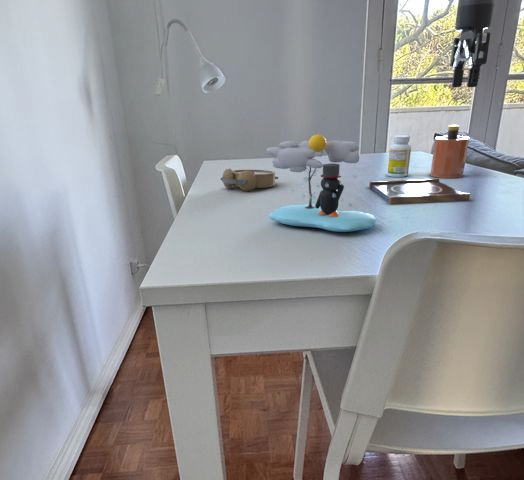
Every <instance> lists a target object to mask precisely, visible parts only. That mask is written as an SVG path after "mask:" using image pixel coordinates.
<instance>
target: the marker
mask: <svg viewBox="0 0 524 480" xmlns="http://www.w3.org/2000/svg"><path fill="white" fill-rule="evenodd" d="M459 130H460V125H458V124H451V125H448V129H447V135H446V136H447V139H457V137H458V136H459Z"/></svg>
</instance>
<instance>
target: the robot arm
mask: <svg viewBox="0 0 524 480" xmlns="http://www.w3.org/2000/svg"><path fill="white" fill-rule="evenodd" d="M494 7H495V0H458V3H457V10H456V16H455V17H456V18H455V25H454V30H455V31H457V32H461V33H460V37H454V39H453V42H452V49H451V55H450V61H449V62H450V63H449V67H450V68H452V70H453V74H452V80H451V87H452V88H461V87H462V86H463V79H464V73H465V72H464V71H465V70H464V69H465V67H466V65H467V62H468V66H469V69H468V74H467V81H466V87H467V88H476V87H477V86H478V82H479V76H480V71H481V68H482V67H483V65H486V64H487V61H488V53H489V48H490V47H489V46H490V41H491V32H490V31H489V32H484V30H487V29H490V27H491V25H492V19H493V13H494Z"/></svg>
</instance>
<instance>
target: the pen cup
mask: <svg viewBox="0 0 524 480" xmlns="http://www.w3.org/2000/svg"><path fill="white" fill-rule="evenodd" d="M447 136H448V135H443V136H436V137H435V139H434V145H433V151H432V160H431V167H430V176H431V177H433V178H437V179H457V178H462V177H464V173H465V172H464V171H465V166H466V160H467V156H468V155H467V154H468V149H469V142H470V137H469V136H463V135H462V136H460V135H458V137H457V139H447Z"/></svg>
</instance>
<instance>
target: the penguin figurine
mask: <svg viewBox="0 0 524 480" xmlns="http://www.w3.org/2000/svg"><path fill="white" fill-rule="evenodd" d="M359 150H360V147H359V144H358V143H357V142H356V141H351V140H342V139H334V140H333V139H332V140H328V141H327V139H326V137H325V136H324V135H322V134H319V133H318V134H314V135H312V136H311V137H310V136H309V140H305V141H301V142H300V143H298V142H297V141H294V140H286V141H282V142H279V146H271V147H267V148H266V152H267V154H268V155H269V156H272V157H273V159H272V160H271V162H272V166H273V167H274V168H275V169H280V170H281V169H282V170H286V169H287V170H288V169H289V171H290V172H292V173H303V172H304V174H305V175H307V174H308V177H307V176H304V177H303V179H304V182H300V184H301V187H303V188H305V187H306V185H305V183H308V194H309V195H308V204H293V205H284V206H281V207H278V208H276V209H275V210H273V211H272V212H271V213H270V214H269V215H268V217H269V218H270V220H272V221H274V222H277V223H279V224H283V225H287V226H294V227H302V228H303V227H304V228H305V227H306V228H316V229H321V230H325V231H329V232H330V231H331V232H335V233H336V232H337V233H350V232H356V231H363V230H366V229H369V228H372V227H374V226H375V224H376V223H377V218H376V217H375V215H373V214H372V213H368V212H365V211H360V210H359V211H358V210H340V211H339V210H338V208H339V201H340V202H342V203H343V202H344V198H341V197H342V194H343V191H344V189H345V185H344V183H343V184H342V179H341V177H342V175H341V174H340V164H341V163H342V162H343V163H346V164H357V163H358V162H359V161H360V154H359V152H356V151H359ZM324 152H325V153H326V154H327V158H328V161H329V162H330V163H322V162H321V161H320V160H318V159H316V157H323V156H324ZM308 168H309V169H308ZM321 168H322V174H321V175H320V177H321V178H322V179H321V181H320V184H319V183H318V182H317V183H316V184H315V188H316V189H317V190H318V188H321V190H320V191H319V194H318V197H317V196H316V191H314V193H312V185H311V180H312V177H315V176H316V175H317V172H318V169H321ZM312 169H313V170H312ZM316 169H317V170H316ZM311 173H312V174H311ZM357 178H358V175H353V179H355V180H357ZM295 191H296V189H295V188H290V192H291V194H294V193H296V192H295ZM304 193H305V192H303V193H302V194H300V195H301V198H302V199H305V198H306V194H304ZM312 202H313V203H314V204H313V203H312ZM347 206H348V207H349V208H350V207H352V206H353V203H351V202H350V201H349V202H348V205H347Z"/></svg>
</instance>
